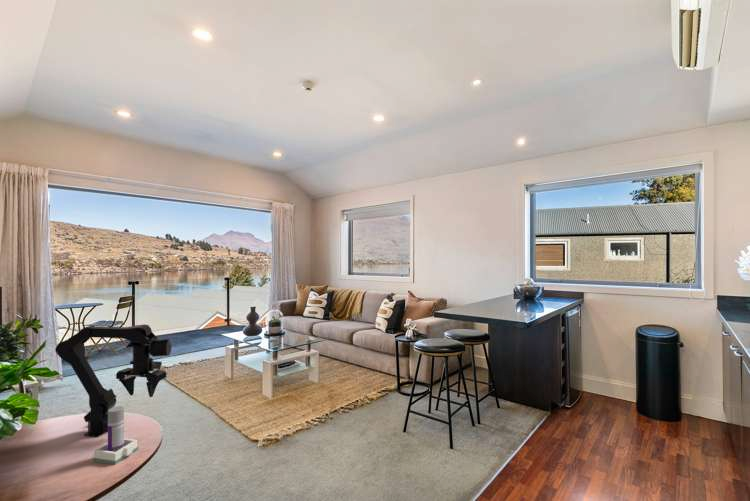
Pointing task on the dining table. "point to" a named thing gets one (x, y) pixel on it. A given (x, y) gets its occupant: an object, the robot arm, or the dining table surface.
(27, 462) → the dining table surface
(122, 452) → the board
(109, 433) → the container
